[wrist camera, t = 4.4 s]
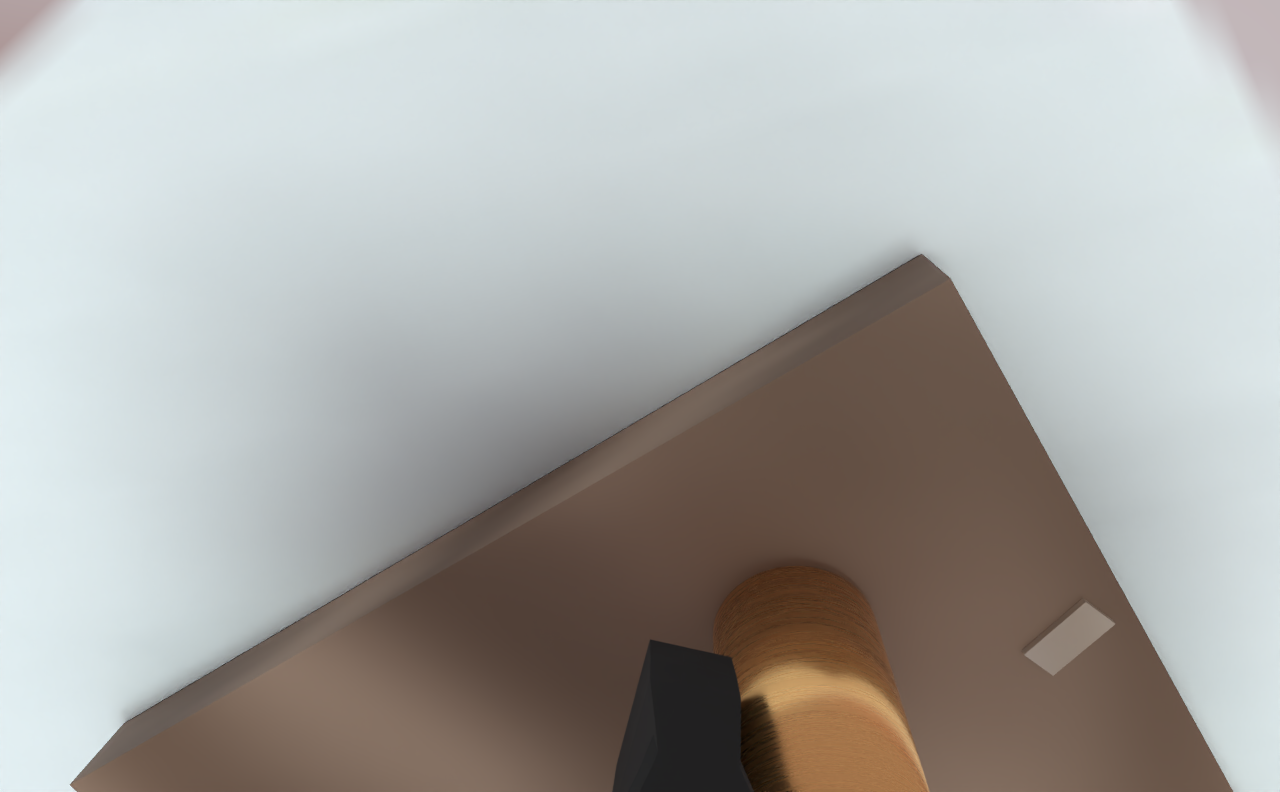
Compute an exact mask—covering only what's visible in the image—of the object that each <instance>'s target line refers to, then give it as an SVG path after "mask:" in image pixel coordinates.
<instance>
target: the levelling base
mask: <svg viewBox="0 0 1280 792" xmlns="http://www.w3.org/2000/svg"><path fill="white" fill-rule="evenodd" d="M787 566H804V567H813V568H818V569H822V570H825V571H828V572H831V573H833V574H836V575H838V576H840V577H842V578H843V579H845V580H847V581H848V582H850V583H851V584H852V585H854V586H855V587H856V588H857V589H858V590H859V591H860V592H861V593H862V594H863V595H864V597H865V598H866V599H867V601H868V602H869V604H870V606H871V608H872V610H873V612H874V615H875V618H876V622H877V625H878V628H879V631H880V634H881V638H882V641H883V644H884V647H885V650H886V654H887V657H888V660H889V663H890V666H891V670H892V673H893V676H894V679H895V682H896V686H897V689H898V692H899V695H900V698H901V702H902V705H903V708H904V711H905V714H906V718H907V721H908V724H909V727H910V730H911V734H912V737H913V740H914V743H915V746H916V750H917V753H918V756H919V759H920V762H921V766H922V769H923V772H924V775H925V778H926V782H927V785H928V788H929V791H930V792H1233V790H1232V789H1231V787H1230V785H1229V783H1228V781H1227V780H1226V778H1225V776H1224V774H1223V772H1222V771H1221V769H1220V767H1219V765H1218V763H1217V761H1216V760H1215V758H1214V756H1213V754H1212V752H1211V751H1210V749H1209V747H1208V745H1207V743H1206V741H1205V740H1204V738H1203V736H1202V734H1201V732H1200V731H1199V729H1198V727H1197V725H1196V723H1195V721H1194V720H1193V718H1192V716H1191V714H1190V712H1189V711H1188V709H1187V707H1186V705H1185V703H1184V702H1183V700H1182V698H1181V696H1180V694H1179V692H1178V691H1177V689H1176V687H1175V685H1174V683H1173V682H1172V680H1171V678H1170V676H1169V674H1168V672H1167V671H1166V669H1165V667H1164V665H1163V663H1162V662H1161V660H1160V658H1159V656H1158V654H1157V653H1156V651H1155V649H1154V647H1153V645H1152V643H1151V642H1150V640H1149V638H1148V636H1147V634H1146V633H1145V631H1144V629H1143V627H1142V625H1141V623H1140V622H1139V620H1138V618H1137V616H1136V614H1135V613H1134V611H1133V609H1132V607H1131V605H1130V603H1129V602H1128V600H1127V598H1126V596H1125V594H1124V593H1123V591H1122V589H1121V587H1120V585H1119V584H1118V582H1117V580H1116V578H1115V576H1114V574H1113V573H1112V571H1111V569H1110V567H1109V565H1108V564H1107V562H1106V560H1105V558H1104V556H1103V554H1102V553H1101V551H1100V549H1099V547H1098V545H1097V544H1096V542H1095V540H1094V538H1093V536H1092V535H1091V533H1090V531H1089V529H1088V527H1087V525H1086V524H1085V522H1084V520H1083V518H1082V516H1081V515H1080V513H1079V511H1078V509H1077V507H1076V505H1075V504H1074V502H1073V500H1072V498H1071V496H1070V495H1069V493H1068V491H1067V489H1066V487H1065V485H1064V484H1063V482H1062V480H1061V478H1060V476H1059V475H1058V473H1057V471H1056V469H1055V467H1054V466H1053V464H1052V462H1051V460H1050V458H1049V456H1048V455H1047V453H1046V451H1045V449H1044V447H1043V446H1042V444H1041V442H1040V440H1039V438H1038V436H1037V435H1036V433H1035V431H1034V429H1033V427H1032V426H1031V424H1030V422H1029V420H1028V418H1027V417H1026V415H1025V413H1024V411H1023V409H1022V407H1021V406H1020V404H1019V402H1018V400H1017V398H1016V397H1015V395H1014V393H1013V391H1012V389H1011V387H1010V386H1009V384H1008V382H1007V380H1006V378H1005V377H1004V375H1003V373H1002V371H1001V369H1000V367H999V366H998V364H997V362H996V360H995V358H994V357H993V355H992V353H991V351H990V349H989V348H988V346H987V344H986V342H985V340H984V338H983V337H982V335H981V333H980V331H979V329H978V328H977V326H976V324H975V322H974V320H973V318H972V317H971V315H970V313H969V311H968V309H967V308H966V306H965V304H964V302H963V300H962V299H961V297H960V295H959V293H958V291H957V289H956V288H955V286H954V284H953V282H952V280H951V279H950V278H949V277H948V276H947V275H946V274H945V273H943V272H942V271H941V270H940V269H939V268H938V267H936V266H935V265H934V264H933V263H932V262H931V261H929V260H928V259H927V258H926V257H925V256H924V255H922V254H921V255H919V256H918V257H916V258H914V259H913V260H911V261H909V262H908V263H906V264H904V265H902V266H901V267H899V268H897V269H896V270H894V271H892V272H891V273H889V274H887V275H885V276H884V277H882V278H880V279H879V280H877V281H875V282H874V283H872V284H870V285H869V286H867V287H865V288H863V289H862V290H860V291H858V292H857V293H855V294H853V295H852V296H850V297H848V298H846V299H845V300H843V301H841V302H840V303H838V304H836V305H835V306H833V307H831V308H829V309H828V310H826V311H824V312H823V313H821V314H819V315H818V316H816V317H814V318H812V319H811V320H809V321H807V322H806V323H804V324H802V325H801V326H799V327H797V328H795V329H794V330H792V331H790V332H789V333H787V334H785V335H784V336H782V337H780V338H778V339H777V340H775V341H773V342H772V343H770V344H768V345H767V346H765V347H763V348H761V349H760V350H758V351H756V352H755V353H753V354H751V355H750V356H748V357H746V358H744V359H743V360H741V361H739V362H738V363H736V364H734V365H733V366H731V367H729V368H727V369H726V370H724V371H722V372H721V373H719V374H717V375H716V376H714V377H712V378H710V379H709V380H707V381H705V382H704V383H702V384H700V385H699V386H697V387H695V388H693V389H692V390H690V391H688V392H687V393H685V394H683V395H682V396H680V397H678V398H676V399H675V400H673V401H671V402H670V403H668V404H666V405H665V406H663V407H661V408H660V409H658V410H656V411H654V412H653V413H651V414H649V415H648V416H646V417H644V418H643V419H641V420H639V421H637V422H636V423H634V424H632V425H631V426H629V427H627V428H626V429H624V430H622V431H620V432H619V433H617V434H615V435H614V436H612V437H610V438H609V439H607V440H605V441H603V442H602V443H600V444H598V445H597V446H595V447H593V448H592V449H590V450H588V451H586V452H585V453H583V454H581V455H580V456H578V457H576V458H575V459H573V460H571V461H569V462H568V463H566V464H564V465H563V466H561V467H559V468H558V469H556V470H554V471H552V472H551V473H549V474H547V475H546V476H544V477H542V478H541V479H539V480H537V481H535V482H534V483H532V484H530V485H529V486H527V487H525V488H524V489H522V490H520V491H518V492H517V493H515V494H513V495H512V496H510V497H508V498H507V499H505V500H503V501H501V502H500V503H498V504H496V505H495V506H493V507H491V508H490V509H488V510H486V511H484V512H483V513H481V514H479V515H478V516H476V517H474V518H473V519H471V520H469V521H467V522H466V523H464V524H462V525H461V526H459V527H457V528H456V529H454V530H452V531H451V532H449V533H447V534H445V535H444V536H442V537H440V538H439V539H437V540H435V541H434V542H432V543H430V544H428V545H427V546H425V547H423V548H422V549H420V550H418V551H417V552H415V553H413V554H411V555H410V556H408V557H406V558H405V559H403V560H401V561H400V562H398V563H396V564H394V565H393V566H391V567H389V568H388V569H386V570H384V571H383V572H381V573H379V574H377V575H376V576H374V577H372V578H371V579H369V580H367V581H366V582H364V583H362V584H360V585H359V586H357V587H355V588H354V589H352V590H350V591H349V592H347V593H345V594H343V595H342V596H340V597H338V598H337V599H335V600H333V601H332V602H330V603H328V604H326V605H325V606H323V607H321V608H320V609H318V610H316V611H315V612H313V613H311V614H309V615H308V616H306V617H304V618H303V619H301V620H299V621H298V622H296V623H294V624H292V625H291V626H289V627H287V628H286V629H284V630H282V631H281V632H279V633H277V634H275V635H274V636H272V637H270V638H269V639H267V640H265V641H264V642H262V643H260V644H258V645H257V646H255V647H253V648H252V649H250V650H248V651H247V652H245V653H243V654H242V655H240V656H238V657H236V658H235V659H233V660H231V661H230V662H228V663H226V664H225V665H223V666H221V667H219V668H218V669H216V670H214V671H213V672H211V673H209V674H208V675H206V676H204V677H202V678H201V679H199V680H197V681H196V682H194V683H192V684H191V685H189V686H187V687H185V688H184V689H182V690H180V691H179V692H177V693H175V694H174V695H172V696H170V697H168V698H167V699H165V700H163V701H162V702H160V703H158V704H157V705H155V706H153V707H151V708H150V709H148V710H146V711H145V712H143V713H141V714H140V715H138V716H136V717H134V718H133V719H131V720H129V721H128V722H126V723H124V724H123V725H122V726H121V727H120V728H119V730H118V731H117V732H116V733H115V734H114V735H113V736H112V738H111V739H110V740H109V741H108V742H107V743H106V744H105V745H104V747H103V748H102V749H101V750H100V751H99V752H98V753H97V755H96V756H95V757H94V758H93V759H92V760H91V761H90V762H89V764H88V765H87V766H86V767H85V768H84V769H83V770H82V772H81V773H80V774H79V775H78V776H77V777H76V778H75V779H74V781H73V782H72V783H71V784H70V786H71V787H73V788H74V789H75V790H76V791H77V792H612V791H613V784H614V778H615V771H616V765H617V761H618V757H619V753H620V750H621V746H622V742H623V738H624V735H625V731H626V727H627V723H628V720H629V716H630V712H631V708H632V705H633V701H634V697H635V693H636V690H637V686H638V682H639V678H640V675H641V671H642V667H643V663H644V660H645V656H646V652H647V648H648V645H649V641H650V639H651V640H655V641H660V642H664V643H669V644H673V645H678V646H683V647H687V648H692V649H696V650H701V651H705V652H710V653H713V628H714V622H715V618H716V615H717V613H718V610H719V608H720V606H721V605H722V603H723V601H724V600H725V599H726V597H727V596H728V595H729V594H730V593H731V592H732V591H733V590H734V589H735V588H736V587H737V586H738V585H740V584H741V583H742V582H744V581H745V580H747V579H749V578H751V577H752V576H754V575H756V574H759V573H761V572H764V571H767V570H771V569H775V568H780V567H787Z"/></svg>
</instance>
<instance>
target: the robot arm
mask: <svg viewBox="0 0 1280 792" xmlns="http://www.w3.org/2000/svg"><path fill="white" fill-rule="evenodd" d="M612 792H754V790H753V788H752V786H751V783H750V781H749V779H748V777H747V774H746V772H745V770H744V767H743V765H742V763H741V697H740V691H739V686H738V681H737V676H736V672H735V669H734V665H733V661H732V657H728V656H724V655H719V654H714V653H710V652H705V651H701V650H696V649H692V648H687V647H683V646H678V645H673V644H669V643H664V642H660V641H655V640H651V639H650V641H649V645H648V648H647V652H646V656H645V660H644V663H643V667H642V671H641V675H640V678H639V682H638V686H637V690H636V693H635V697H634V701H633V705H632V708H631V712H630V716H629V720H628V723H627V727H626V731H625V735H624V738H623V742H622V746H621V750H620V753H619V757H618V761H617V765H616V771H615V778H614V784H613V791H612Z"/></svg>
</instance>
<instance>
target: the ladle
mask: <svg viewBox="0 0 1280 792" xmlns="http://www.w3.org/2000/svg"><path fill="white" fill-rule="evenodd" d="M713 653H714V654H719V655H724V656H728V657H732V661H733V665H734V669H735V672H736V676H737V681H738V686H739V691H740V697H741V763H742V765H743V767H744V770H745V772H746V774H747V777H748V779H749V781H750V783H751V786H752V788H753V790H754V792H930V791H929V788H928V785H927V782H926V778H925V775H924V772H923V769H922V766H921V762H920V759H919V756H918V753H917V750H916V746H915V743H914V740H913V737H912V734H911V730H910V727H909V724H908V721H907V718H906V714H905V711H904V708H903V705H902V702H901V698H900V695H899V692H898V689H897V686H896V682H895V679H894V676H893V673H892V670H891V666H890V663H889V660H888V657H887V654H886V650H885V647H884V644H883V641H882V638H881V634H880V631H879V628H878V625H877V622H876V618H875V615H874V612H873V610H872V608H871V606H870V604H869V602H868V601H867V599H866V598H865V597H864V595H863V594H862V593H861V592H860V591H859V590H858V589H857V588H856V587H855V586H854V585H852V584H851V583H850V582H848V581H847V580H845V579H843V578H842V577H840V576H838V575H836V574H833V573H831V572H828V571H825V570H822V569H818V568H813V567H804V566H787V567H780V568H775V569H771V570H767V571H764V572H761V573H759V574H756V575H754V576H752V577H751V578H749V579H747V580H745V581H744V582H742V583H741V584H740V585H738V586H737V587H736V588H735V589H734V590H733V591H732V592H731V593H730V594H729V595H728V596H727V597H726V599H725V600H724V601H723V603H722V605H721V606H720V608H719V610H718V613H717V615H716V618H715V622H714V628H713Z"/></svg>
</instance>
